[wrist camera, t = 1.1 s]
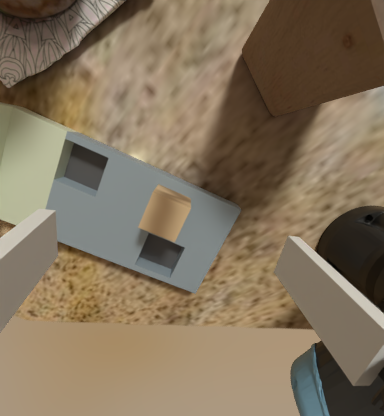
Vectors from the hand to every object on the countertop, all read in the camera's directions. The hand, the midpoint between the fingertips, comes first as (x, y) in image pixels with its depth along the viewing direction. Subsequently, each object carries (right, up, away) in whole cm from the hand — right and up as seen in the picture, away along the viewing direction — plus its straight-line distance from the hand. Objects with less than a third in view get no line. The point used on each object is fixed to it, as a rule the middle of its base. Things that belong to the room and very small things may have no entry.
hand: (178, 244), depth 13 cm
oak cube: (-3, +2, +19) cm, 20 cm away
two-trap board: (-11, +3, +22) cm, 25 cm away
